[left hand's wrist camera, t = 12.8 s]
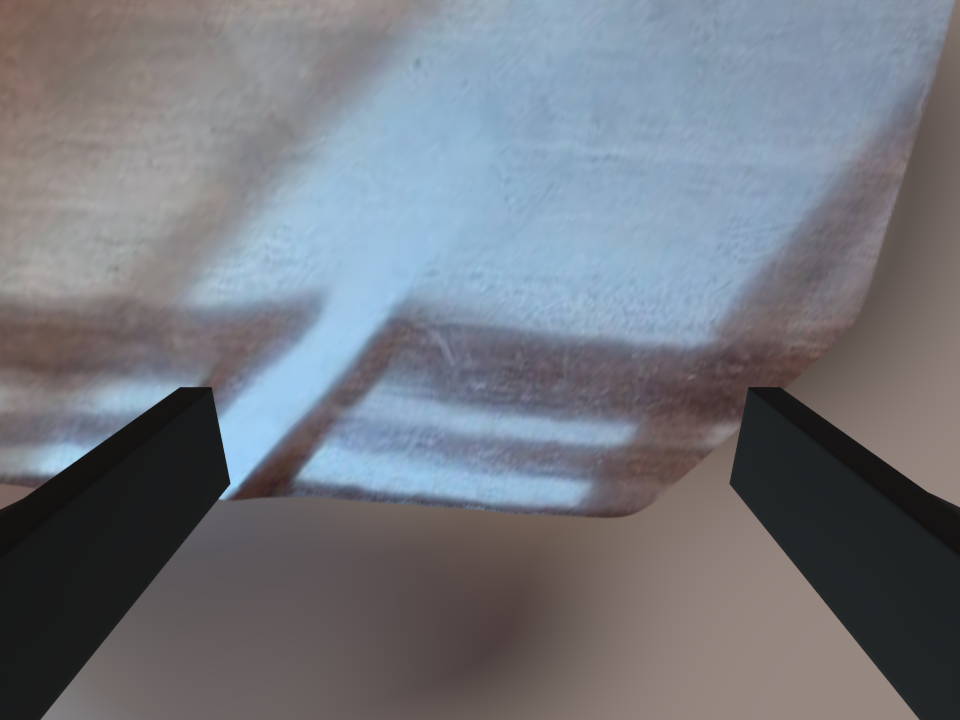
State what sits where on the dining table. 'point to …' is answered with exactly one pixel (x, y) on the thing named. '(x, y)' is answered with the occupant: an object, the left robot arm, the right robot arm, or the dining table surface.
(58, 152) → the dining table surface
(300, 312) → the dining table surface
